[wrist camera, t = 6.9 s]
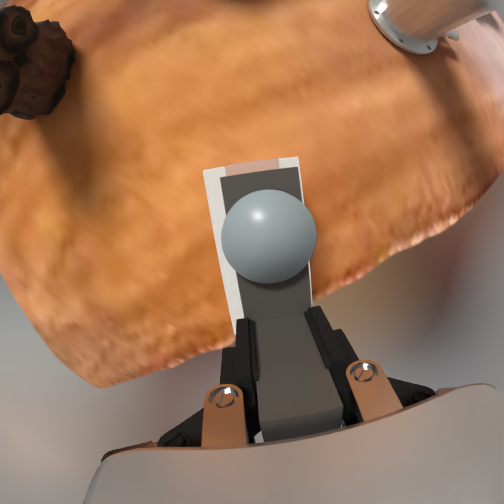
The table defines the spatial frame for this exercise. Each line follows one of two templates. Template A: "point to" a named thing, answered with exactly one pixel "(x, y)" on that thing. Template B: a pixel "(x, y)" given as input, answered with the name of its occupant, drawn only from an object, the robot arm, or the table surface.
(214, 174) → the white toy brick
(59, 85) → the owl
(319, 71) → the table surface
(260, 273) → the bar with two balls
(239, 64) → the table surface
